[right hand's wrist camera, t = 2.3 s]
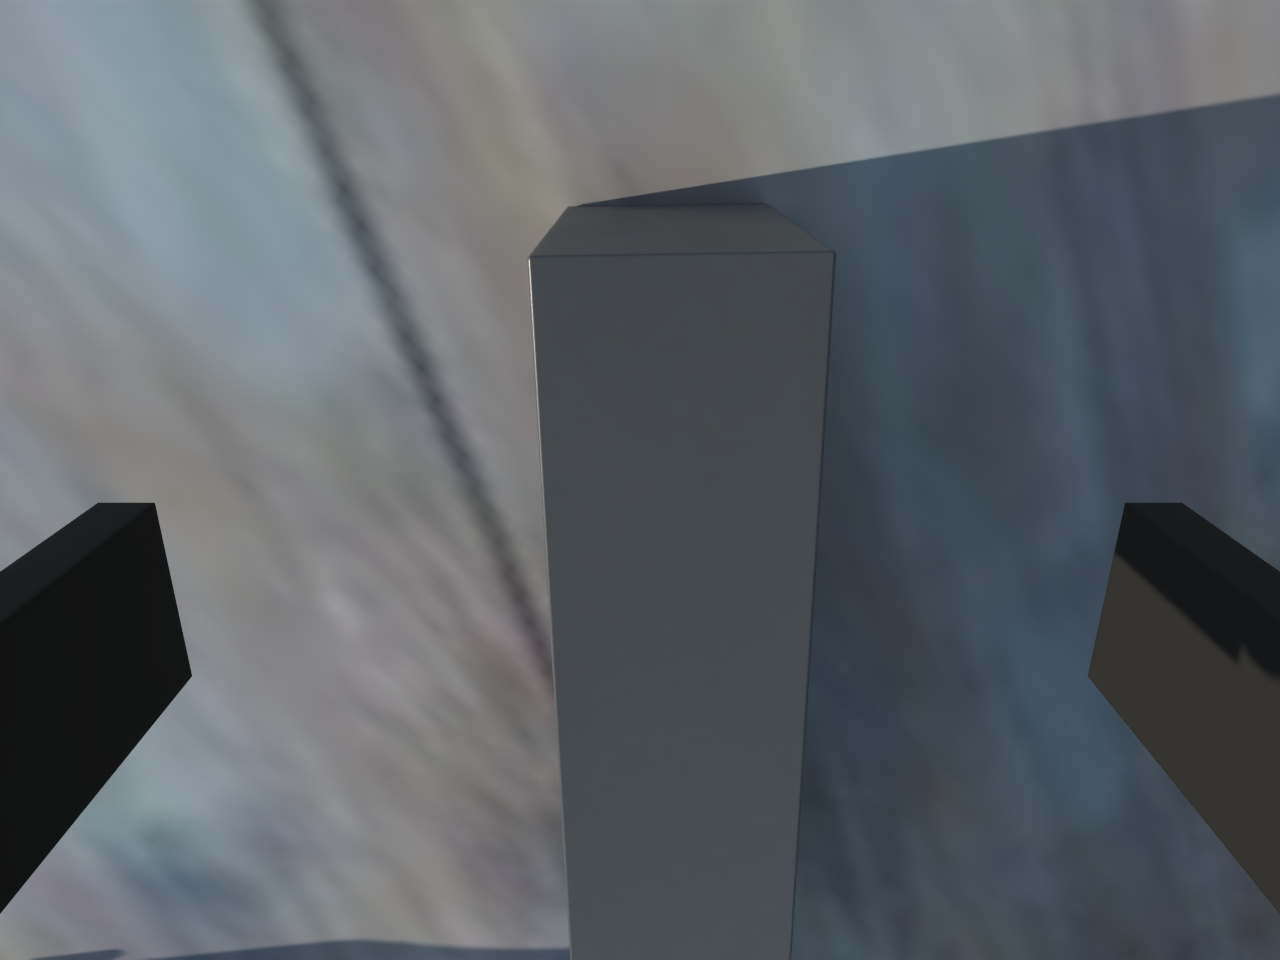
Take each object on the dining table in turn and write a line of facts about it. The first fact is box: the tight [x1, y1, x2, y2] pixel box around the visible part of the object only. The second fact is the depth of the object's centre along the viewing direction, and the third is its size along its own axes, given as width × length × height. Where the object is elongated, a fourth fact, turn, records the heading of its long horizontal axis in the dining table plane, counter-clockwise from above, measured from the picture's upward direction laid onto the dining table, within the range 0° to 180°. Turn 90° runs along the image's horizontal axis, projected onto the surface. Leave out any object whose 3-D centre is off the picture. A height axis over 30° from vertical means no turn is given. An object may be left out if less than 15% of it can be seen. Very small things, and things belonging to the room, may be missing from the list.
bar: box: [528, 203, 836, 960], centre depth 24 cm, size 26×5×9 cm, turn 1°
